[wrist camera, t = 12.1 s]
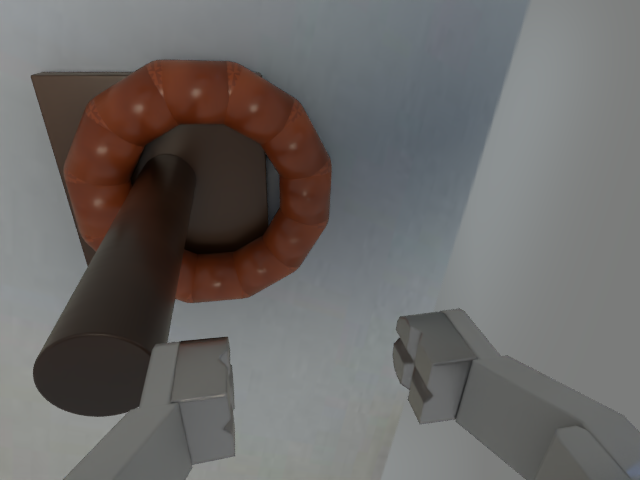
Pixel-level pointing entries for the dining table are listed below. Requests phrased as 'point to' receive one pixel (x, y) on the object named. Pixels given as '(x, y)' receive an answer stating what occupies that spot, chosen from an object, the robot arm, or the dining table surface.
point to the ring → (204, 108)
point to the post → (141, 246)
